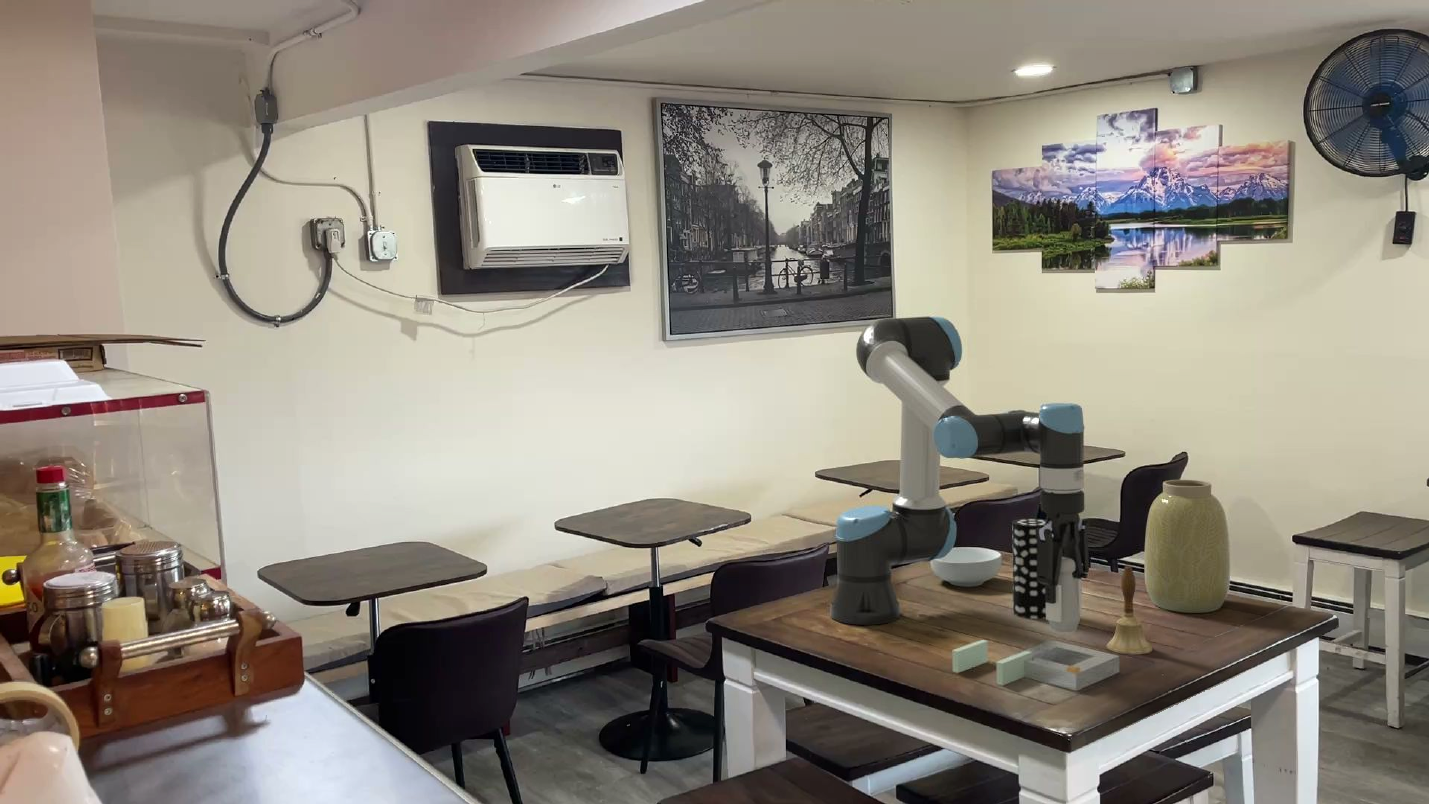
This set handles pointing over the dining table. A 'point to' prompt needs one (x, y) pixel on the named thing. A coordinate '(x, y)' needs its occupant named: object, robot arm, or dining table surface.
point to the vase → (1187, 549)
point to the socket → (1081, 661)
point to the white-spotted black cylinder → (1027, 570)
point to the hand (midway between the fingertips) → (1063, 616)
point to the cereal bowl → (967, 566)
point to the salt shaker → (1067, 599)
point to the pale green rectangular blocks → (978, 655)
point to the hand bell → (1129, 623)
